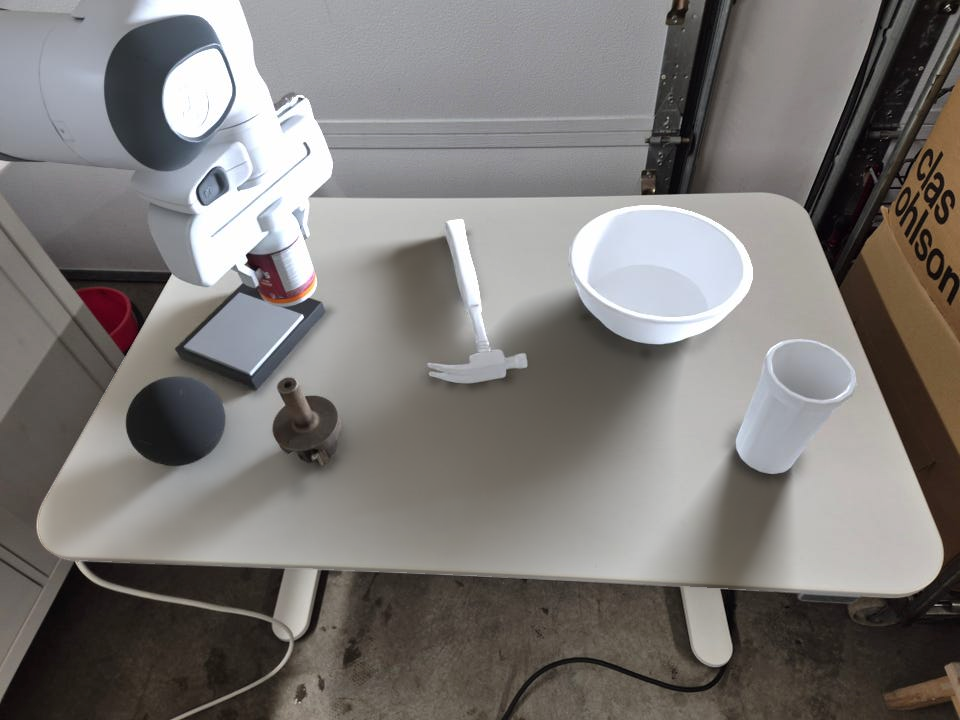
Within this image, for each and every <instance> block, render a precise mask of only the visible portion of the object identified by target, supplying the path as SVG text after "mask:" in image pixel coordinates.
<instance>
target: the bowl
mask: <svg viewBox="0 0 960 720" xmlns="http://www.w3.org/2000/svg"><path fill="white" fill-rule="evenodd" d="M749 255H750V254H748V252H747V250H746V248H745V247H744V244H742V242H741V241H740V240H739V239H738V238H737V237H736V236H735V235H734V234H733V233H732V232H731V231H729V230H728V229H727V228H725V227H723V225H721V224H719V223H717V222H715V221H714V220H712V219H710V218H708V217H706V216H703V215H701V214H698V213H695V212H693V211H689V210H685V209H683V208H677V207H671V206H663V205H635V206H627V207H626V206H625V207H622V208H619V209H614V210H611V211H608V212H606V213H603V214H601V215H599V216H597V217H595V218H594V219H592V220H591V221H589V222H587V223H586V224H584V226H583V227H582V228H581V229H580V230H579V231H578V232H577V233H576V234H575V236H574V238H573V240H572V241H571V243H570V246H569V250H568V267H569V270H570V273H571V277H572V280H573V282H574V285H575V287H576V290H577V293H578V296H579V298H580V299H581V301H582V303H583V304H584V306H585V307H586V309H587V310H588V311H589V312H590V313H591V314H592V315H593V316H594V317H595V318H597V319H598V320H599V321H600V322H601V323H602V325H604V326H605V327H606V328H607V329H608V330H610V331H611V332H612V333H614V334H616V335H618V336H620V337H622V338H624V339H627V340H630V341H633V342H636V343H641V344H647V345H664V344H673V343H676V342H680V341H683V340H685V339H687V338H690V337H693V336H697V335H701V334H702V333H704V332H707V331H708V330H710V329H712V328H714V326H716V325H717V324H719V323H720V322H721V321H722V320H723V319H724V318H725V317H726V316H727V315H729V313H730V312H732V311H733V310H734V309H735V308H736V307H738V305H739V304H740V303H741V302H742V300H743V299H744V298H745V297H746V295H747V294H748V293H749V290H750V287H751V284H752V281H753V265H752V263H751V258H750V257H749Z"/></svg>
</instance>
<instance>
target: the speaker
mask: <svg viewBox="0 0 960 720" xmlns="http://www.w3.org/2000/svg"><path fill="white" fill-rule="evenodd" d="M226 419H227V418H226V410H225V407H224V404H223V402H222V400H221V398H220V396H219V395H218V393H217V392H216V391H215V390H214V389H213V388H212V387H211V386H210V385H208V384H206V382H205V383H204V382H203V381H201V380H199V379H196V378H194V377H189V376H185V375H183V376H181V375H173V376H172V375H171V376H166V377H162V378H159V379H155V380H154V381H152V382H150V383H148V384H147V385H145V386H144V387H143V388H141V389H140V390H139V391H138V392H137V393H136V395H135V396H134V397H133V399H132V400H131V402H130V403H129V406H128V408H127V411H126V416H125V429H126V435H127V438H128V440H129V442H130V444H131V446H132V447H133V449H135V451H136V452H137V453H138V454H139V455H140V456H142V457H143V458H144V459H146V460H148V461H149V462H152V463H154V464H158V465H161V466H167V467H180V466H185V465H190V464H192V463H195V462H198V461H199V460H201V459H203V458H204V457H206V456H208V455H209V454H210V453H211V452H212V451H213V450H214V449H215V448H216V446H217V445H218V444H219V443H220V441H221V439H222V437H223V435H224V432H225V427H226Z"/></svg>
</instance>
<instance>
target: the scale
mask: <svg viewBox="0 0 960 720" xmlns="http://www.w3.org/2000/svg"><path fill="white" fill-rule="evenodd" d="M219 304H220V305H218V306H217V307H216V308H215V309H214V310H213V311H212V312H211V313H210V314H209V315H208V316H206V318H205V319H204V320H203V321H201V323H200V324H199V325H198V326H196V327H195V328H194V330H192V331H191V332H190V333H189V334H188V335H187V336H186V337H185V338H184V339H183V340H182V341H180V343H179V344H178V345H177V346H176V347H175V348H174V351H175V352H176V354H177V356H178V357H179V358H180V360H183V361H186V362H187V363H189V364H190V363H191V364H193V365H196V366H198V367H200V368H202V369H205V370H207V371H210V372H212V373H215V374H217V375H219V376H222V377H224V378H227V379H229V380H231V381H234V382H236V383H239V384H241V385H244V386H246V387H248V388H251V389H254V390H256V391H257V390H258V389H260V387H261V386H262V385H263V384H264V383H265V381H266V380H267V379H268V378H269V377H270V376H271V374H272V373H273V372H274V371H275V370H276V369H277V368H278V367H279V366H280V365H281V364H282V362H283V361H284V360H285V359H286V358H287V356H288V355H289V354H290V353H291V352H292V351H293V349H294V348H295V347H296V346H297V345H298V344H299V343H300V341H302V340H303V338H304V337H305V336H306V335H307V334H308V333H309V331H310V330H311V329H312V328H313V327H314V326H315V324H317V322H318V321H319V320H320V319H321V318H322V317H323V316H324V314H325V313H326V310H325V306H324V304H323V302H322V301H321V300H318V299H315V298H311V297H309V298H307V299H306V300H304V301H303V302H301V303H298V304H296V305H292V306H287V307H277V306H274V305H271V304H269V303H267V302H266V301H265V300H264V299H263V298H262V296H261V295H260V292H259V290H258V288H257V287H256V288H252V287H249V286H247V285H245V284H244V283H243V282H242V283H241V284H240V285H239V286H238V287H237V288H235V290H234V291H233V292H232V293H231V294H230V295H229V296H228V297H226V298H225V299H224V301H222V303H219Z"/></svg>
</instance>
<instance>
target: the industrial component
mask: <svg viewBox="0 0 960 720" xmlns="http://www.w3.org/2000/svg"><path fill="white" fill-rule="evenodd" d="M276 385H277V386H276V389H277V392H278V394H279V395H280V397H281V400H282V402H283V403H284V406H282V407H281V408H280V410H278V412H277V414H276V415H275V416H274V419H273V422H272V429H271V430H272V436H273V438H274V440H275V443H276V444H277V445H278V447H279V448H280V449H281V451H283V452H284V454H286V455H290V454H292V453H294V452H295V453H296V454H297V456H298V458H299V460H301V461H303V462H305V463H307V464H312V463H313V462H314V461H318V463H319V465H320V466H325V465H327V464H328V463H329V462H330V458H331V457H332V456H333V455H334V454H335V452H336V450H337V448H338V437H339V435H340V432H341V429H342V420H341V416H340V414H339V411H338V409H337V407H336V406H335V403H333V402H332V401H331V400H329V399H328V398H326V397H324V396H321V395H305V394H304V392H303V390H302V388H301V385H300V383H299V381H298V379H296V378H295V377H293V376H291V377H289V376H287V377H284V378H282V379H281V380H280V381H279V382H278V383H277V384H276Z"/></svg>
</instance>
